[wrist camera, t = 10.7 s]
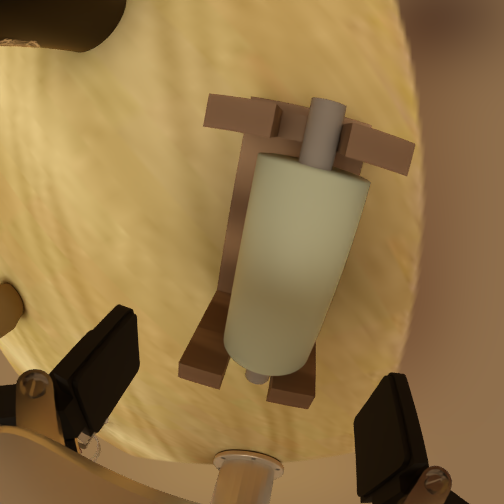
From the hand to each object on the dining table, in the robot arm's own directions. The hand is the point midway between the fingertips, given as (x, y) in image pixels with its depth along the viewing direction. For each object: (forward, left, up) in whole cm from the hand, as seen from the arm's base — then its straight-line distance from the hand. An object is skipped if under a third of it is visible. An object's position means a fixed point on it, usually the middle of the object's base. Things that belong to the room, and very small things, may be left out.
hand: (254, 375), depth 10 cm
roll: (0, -1, -8) cm, 8 cm away
